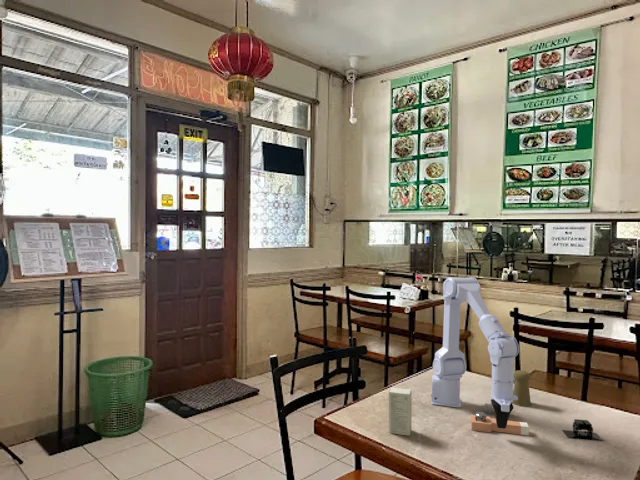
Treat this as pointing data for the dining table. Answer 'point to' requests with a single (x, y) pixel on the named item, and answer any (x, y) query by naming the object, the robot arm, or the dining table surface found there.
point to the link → (492, 426)
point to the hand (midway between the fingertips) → (501, 427)
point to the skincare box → (400, 411)
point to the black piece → (582, 434)
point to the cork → (522, 388)
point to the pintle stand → (487, 410)
